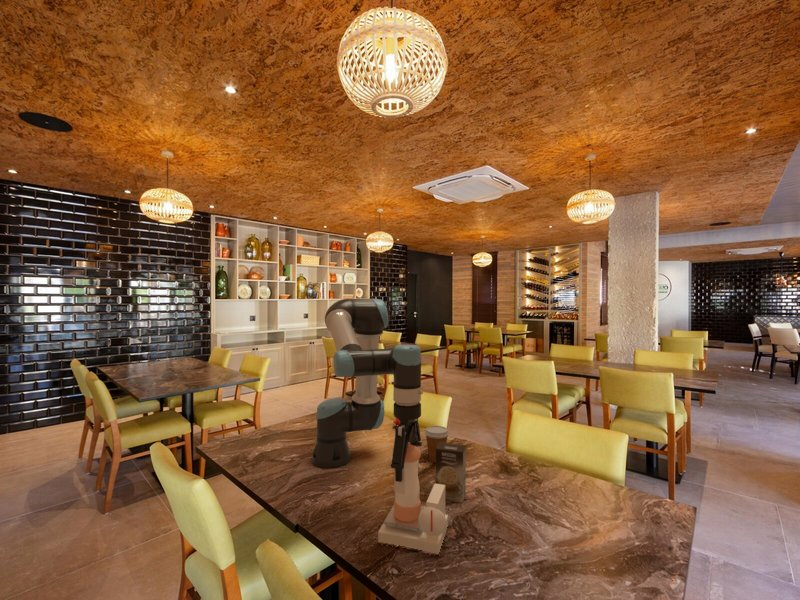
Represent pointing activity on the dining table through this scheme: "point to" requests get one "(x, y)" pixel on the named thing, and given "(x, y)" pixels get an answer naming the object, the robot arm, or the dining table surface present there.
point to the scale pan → (401, 522)
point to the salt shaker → (409, 489)
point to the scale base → (422, 526)
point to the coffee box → (451, 470)
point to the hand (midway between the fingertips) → (407, 480)
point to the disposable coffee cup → (435, 439)
